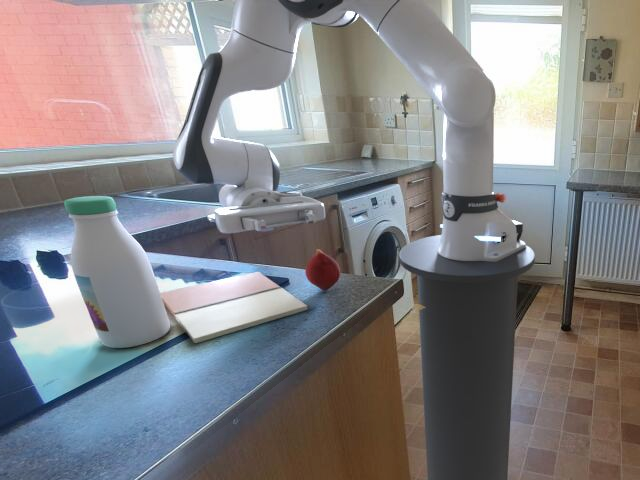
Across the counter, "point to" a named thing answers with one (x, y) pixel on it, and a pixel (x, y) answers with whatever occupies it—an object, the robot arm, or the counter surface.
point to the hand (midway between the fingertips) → (288, 222)
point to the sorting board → (229, 305)
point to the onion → (322, 271)
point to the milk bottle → (114, 276)
